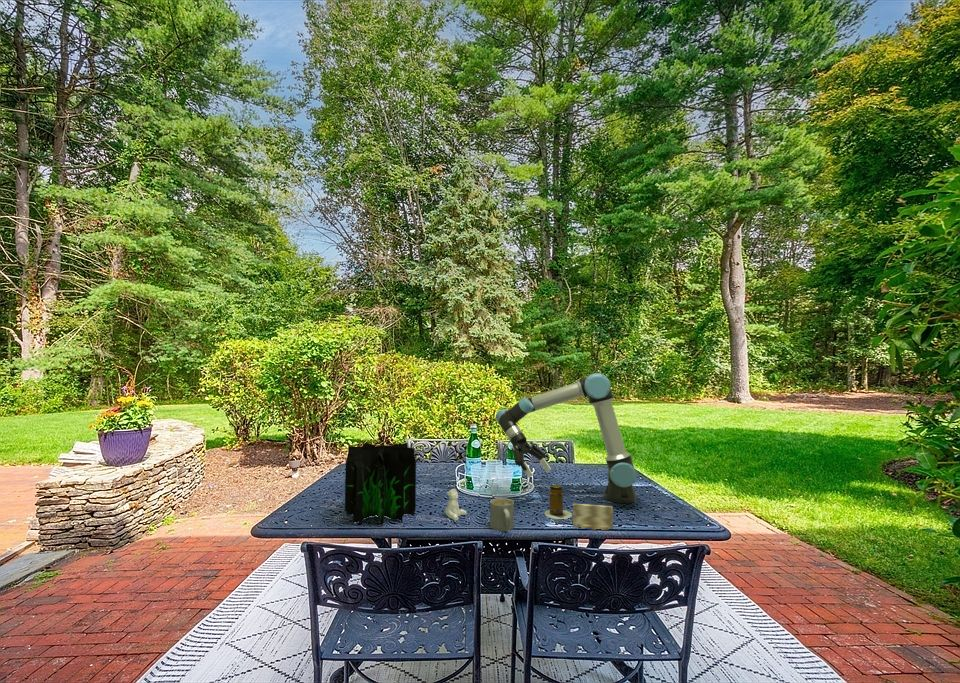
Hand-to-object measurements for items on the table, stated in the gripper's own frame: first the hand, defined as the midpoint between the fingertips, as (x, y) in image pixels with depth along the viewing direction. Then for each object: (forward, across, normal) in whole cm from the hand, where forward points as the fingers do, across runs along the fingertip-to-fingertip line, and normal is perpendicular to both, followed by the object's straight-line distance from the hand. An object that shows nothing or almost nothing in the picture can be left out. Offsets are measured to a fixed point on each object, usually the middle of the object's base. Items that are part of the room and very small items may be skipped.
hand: (540, 473), depth 203 cm
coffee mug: (+14, +29, -9) cm, 34 cm away
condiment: (+19, 0, -4) cm, 19 cm away
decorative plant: (-20, +58, -43) cm, 75 cm away
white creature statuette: (-2, +36, -26) cm, 44 cm away
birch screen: (+32, +2, +9) cm, 33 cm away
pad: (+19, 0, -4) cm, 19 cm away
